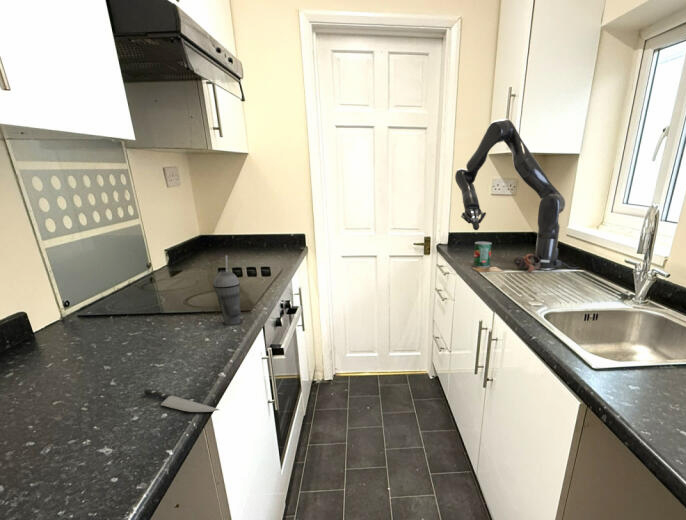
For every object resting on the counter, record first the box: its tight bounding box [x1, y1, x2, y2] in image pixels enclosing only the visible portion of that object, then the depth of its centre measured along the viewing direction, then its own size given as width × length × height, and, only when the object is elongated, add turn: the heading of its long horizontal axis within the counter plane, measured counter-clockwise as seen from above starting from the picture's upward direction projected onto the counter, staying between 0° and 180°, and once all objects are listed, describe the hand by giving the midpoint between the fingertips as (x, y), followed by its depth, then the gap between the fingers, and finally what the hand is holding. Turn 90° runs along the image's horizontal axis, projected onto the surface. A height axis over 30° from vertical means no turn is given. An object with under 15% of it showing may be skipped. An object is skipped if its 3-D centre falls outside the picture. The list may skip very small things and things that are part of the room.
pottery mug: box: [513, 253, 541, 273], centre depth 189 cm, size 12×10×8 cm
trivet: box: [472, 266, 504, 273], centre depth 192 cm, size 12×9×1 cm
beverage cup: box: [212, 254, 242, 326], centre depth 120 cm, size 7×7×20 cm
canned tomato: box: [473, 241, 493, 268], centre depth 197 cm, size 8×8×11 cm
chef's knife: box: [143, 388, 220, 413], centre depth 79 cm, size 19×1×3 cm
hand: (476, 229), depth 203 cm, fingers closed
